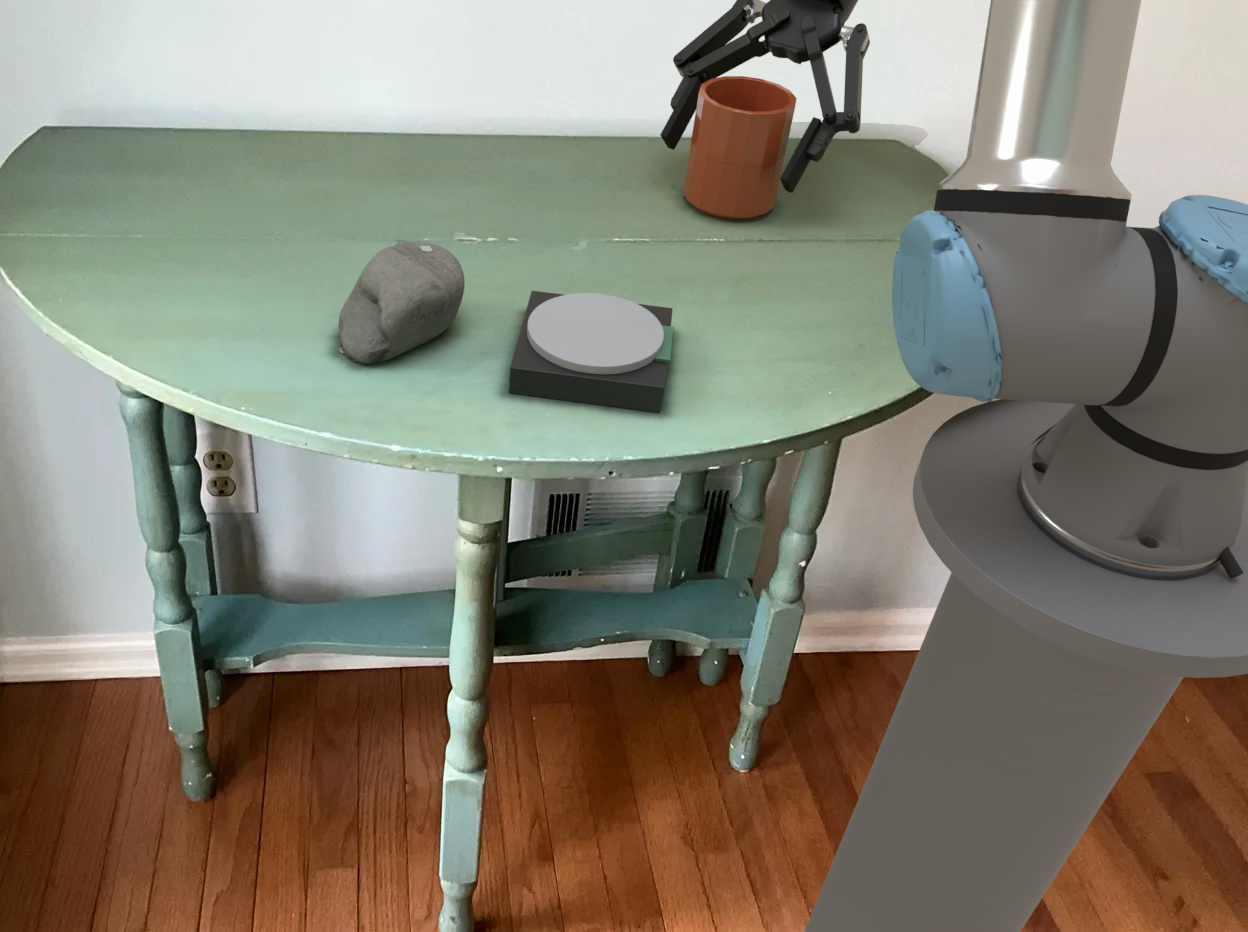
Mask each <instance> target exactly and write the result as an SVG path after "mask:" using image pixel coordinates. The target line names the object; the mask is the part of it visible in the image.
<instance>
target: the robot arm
mask: <svg viewBox="0 0 1248 932" xmlns="http://www.w3.org/2000/svg"><path fill="white" fill-rule="evenodd" d="M858 1H859V0H769V1H767V2H765V1H762V0H736V1H734V4H733V5H732V6H731V8H730V9H729V10H727V11H726V12H725V13H723V15H721V16H720V17H719V18H718V19H717V20H715V21H714V22H713V23H712V24H710V26H708V27H707V28H706V29H704V31H702V32H701V33H700V34H699V35H698V36H696V37H695V38H694V39H693V40H691V42H689V43H688V44H687V45H685V46H684V47H683V48H682V49H680V51H678V52H677V53H676V54H675V55H674V56H673V58H672V62H673V64H674V66H675V68H676V70H677V71H678V74H679V75H680V76H681V77H682V79H681V81H680V83H679V85H678V87H677V88H676V90H675V92H674V94H673V96H672V97H671V99H670V107H671V109H672V112H671V114H670V116H669V118H668V119H667V122H666V123H665V125H664V127H663V129H662V131H661V132H660V134H659V136H660V137H661V139H662V141H663V142H664V144H665V145H666V147H667V148H668V149H671V150H673V151H675V149H676V147H677V146H678V144H679V142H680V140H681V138H682V136H683V135H684V133H685V132H686V129H687V127H688V126H689V124H690V122H691V120H692V118H693V116H694V115H695V114H696V107H697V101H698V95H699V90H700V87H701V84H703V83H705V82H706V81H708V80H710V79H714V78H719V77H721V76H722V75H724V74H726V73H728V72H729V71H731V70H733V69H736V68H737V67H739V66H741V65H742V64H744V63H746V62H749V61H750V60H752V59H754V58H756V57H757V58H762V57H764V56H766V55H767V54H769V53H771V54H772V56H773V57H775V58H777V59H788V60H790V61H791V62H793V63H794V64H797V65H802V64H803V63H807V62H809V63H810V67H811V68H810V69H811V71H812V76H813V80H814V84H815V89H816V93H817V97H818V102H819V106H820V110H821V116H822V120H821V118H817V117H815V116H813V117H812V118H811V121H810V122H809V124H808V126H807V128H806V129H805V131H804V133H803V135H802V137H801V139H800V141H799V142H798V144H797V146H796V148H795V149H794V152H793V153H792V155H791V157H790V159H789V161H788V162H787V164H786V166H785V168H784V170H783V172H781V176H780V183H781V184H782V187H783V189H784V191H785V192H787V193H790V194H793V193H794V191H795V189H796V187H797V186H798V184H799V182H800V180H801V179H802V177H803V175H804V174H805V171H806V170H807V167H808V166H809V164H810V162H811V161H813V162H815V163H818V162H820V160H822V159H823V157H824V154H825V153H826V151H827V149H828V147H829V145H830V144H831V142H832V140H833V139H834V137H835V135H837V133H840V132H848V133H849V134H856V133H858V132H859V131H860V130H861V120H862V119H861V118H862V97H863V95H862V94H863V93H862V92H863V71H864V70H863V69H864V67H863V66H864V59H865V56H866V54H867V51H868V50H869V47H870V45H871V40H870V36H869V31H868V28H867V25H866V24H865V23H863V22H861V23H857V24H856V25H855V26H854V27H853V26H846V25H845V23H846V22H847V21H848V20H849V18H850V17H851V15H852V14H853V11H854V9H855V8H856V5H857V3H858ZM1141 3H1142V0H990V3H989V8H988V9H989V10H988V17H987V22H986V29H985V36H984V41H983V48H982V54H981V60H980V61H981V62H980V66H979V67H980V68H979V74H978V80H977V87H976V94H975V100H974V106H973V113H972V120H971V125H970V132H969V138H968V145H967V151H966V152H967V153H966V158H965V159H964V161H963V162H962V163H961V165H960V166H959V167H958V168H956V169H955V170H953V171H952V173H950V174H949V175H947V177H945V178H944V179H943V180H941V181H940V182H939V183H938V185H937V187H936V193H935V195H936V196H935V199H934V200H935V201H934V207H933V210H926V211H924V212H922V213H919V214H916V215H915V216H912V217H911V219H909V221H908V222H907V223H906V224H905V226H904V228H903V230H902V231H901V235H900V237H899V247H898V248H897V249H896V252H895V256H894V261H893V270H892V281H891V283H892V284H891V306H892V307H891V308H892V309H891V310H892V321H893V329H894V336H895V340H896V344H897V347H898V351H899V355H900V358H901V361H902V364H903V366H904V367H905V369H906V371H907V373H908V374H909V376H910V378H911V379H912V380H913V381H914V382H915V383H916V384H917V385H918V386H919V387H920V388H922V389H924V390H925V391H927V392H930V393H933V394H936V395H946V396H955V397H962V398H963V397H964V398H972V399H974V400H976V401H979V402H982V403H986V402H990V401H994V400H1000V399H1006V400H1021V401H1036V402H1052V403H1067V404H1075V405H1074V406H1073V407H1072V408H1071V409H1070V410H1069V411H1068V412H1067V413H1066V414H1065V415H1064V416H1063V417H1062V418H1061V419H1060V420H1059V421H1058V422H1057V423H1056V424H1055V425H1054V426H1052V427H1051V428H1050V429H1048V430H1047V431H1046V432H1044V433H1043V434H1042V435H1040V436H1039V437H1038V438H1037V439H1036V440H1035V441H1034V442H1033V443H1035V442H1036V441H1037V440H1039V439H1040V438H1041V437H1043V436H1044V435H1045V434H1046V435H1045V436H1044V437H1043V438H1042V439H1041V440H1040V441H1039V442H1038V443H1037V444H1036V445H1035V446H1034V448H1033V449H1032V451H1031V452H1030V454H1029V455H1028V457H1027V458H1026V460H1025V462H1024V465H1023V467H1022V469H1021V472H1020V474H1019V477H1018V482H1017V491H1018V496H1019V499H1020V502H1021V504H1022V506H1023V508H1024V510H1025V511H1026V513H1027V515H1028V516H1029V517H1030V519H1031V520H1032V521H1033V522H1034V523H1035V525H1036V526H1037V527H1038V528H1039V529H1040V530H1041V531H1042V532H1044V533H1045V534H1046V535H1047V536H1048V537H1049V538H1051V539H1052V540H1053V541H1054V542H1056V543H1057V544H1059V545H1060V546H1062V547H1063V548H1065V549H1066V550H1068V551H1070V552H1071V553H1073V554H1075V555H1077V556H1079V557H1080V558H1082V559H1084V560H1087V561H1089V562H1091V563H1093V564H1096V565H1098V566H1101V567H1103V568H1106V569H1109V570H1112V571H1115V572H1118V573H1122V574H1126V575H1130V576H1135V577H1140V578H1146V579H1155V580H1180V579H1188V578H1193V577H1197V576H1200V575H1203V574H1206V573H1208V572H1210V571H1212V570H1213V569H1215V568H1216V567H1217V566H1219V565H1220V564H1222V566H1223V568H1224V569H1225V571H1226V572H1227V574H1228V576H1229V577H1230V578H1231V579H1232V578H1235V577H1237V576H1239V575H1241V574H1243V573H1244V572H1243V571H1242V569H1241V567H1240V566H1239V564H1238V563H1237V561H1236V559H1235V558H1234V556H1233V554H1232V553H1231V551H1230V549H1231V548H1232V546H1233V544H1234V543H1235V541H1236V537H1237V535H1238V532H1239V529H1240V526H1241V520H1242V513H1243V506H1244V498H1245V491H1246V484H1247V476H1248V204H1247V203H1244V202H1242V201H1237V200H1234V199H1229V198H1226V197H1220V196H1214V195H1209V194H1189V195H1184V196H1182V197H1180V198H1177V199H1175V200H1173V201H1171V202H1170V203H1169V205H1168V206H1167V208H1166V209H1165V210H1163V211H1161V213H1160V214H1159V216H1158V224H1159V225H1158V226H1156V227H1140V226H1139V227H1137V226H1127V223H1128V218H1129V217H1128V216H1129V212H1130V207H1131V202H1132V197H1133V196H1132V193H1131V192H1130V191H1129V189H1128V188H1127V187H1126V186H1125V185H1124V183H1123V182H1122V181H1121V180H1120V178H1119V177H1118V175H1117V174H1116V173H1115V172H1114V170H1113V167H1112V159H1113V155H1114V154H1113V153H1114V148H1115V143H1116V139H1117V134H1118V133H1117V132H1118V127H1119V122H1120V116H1121V111H1122V105H1123V102H1124V101H1123V99H1124V95H1125V88H1126V84H1127V80H1128V79H1127V78H1128V74H1129V73H1128V72H1129V68H1130V63H1131V58H1132V52H1133V46H1134V41H1135V36H1136V30H1137V25H1138V19H1139V15H1140V14H1139V13H1140V9H1141ZM758 18H761V21H760V22H757V23H755V22H756V19H758ZM754 23H755V24H754ZM749 24H751V25H752V26H750V27H749V28H748V29H747V30H746V33H745V34H743V35H740V36H739V37H737V36H738V35H739V34H740V33H741V32H742V31H743V30H744V29H745V28H747V26H748V25H749ZM753 24H754V25H753ZM763 36H764V39H763V40H762V41H761V40H760V39H761V38H762V37H763ZM735 37H736V38H735ZM734 38H735V39H734ZM840 42H842V46H843V50H844V52H845V67H844V69H845V73H844V94H843V95H844V96H843V111H837V108H836V107H837V106H836V103H835V99H834V95H833V89H832V85H831V82H830V77H829V74H828V73H829V72H828V68H827V64H826V60H825V56H824V52H826V51H828V50H829V49H831V48H832V47H834V46H835V45H837V44H839V43H840ZM1033 443H1032V444H1033ZM1032 444H1031V445H1032ZM1031 445H1030V446H1031Z"/></svg>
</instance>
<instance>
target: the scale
mask: <svg viewBox="0 0 1248 932" xmlns="http://www.w3.org/2000/svg"><path fill="white" fill-rule="evenodd" d="M672 319H673V307H666V306H658V305H650V304H643V303H637V302H634V301H631V300H629V299H626V298H624V297H620V296H615V295H611V294H605V293H596V292H595V293H594V292H577V293H568V294H565V293H554V292H546V291H540V290H531V292H530V295H529V298H528V302H527V306H526V309H525V313H524V316H523V321H522V324H521V328H520V330H519V335H518V339H517V342H516V345H515V349H514V352H513V356H512V360H511V364H510V366H509V381H508V393H509V394H516V395H523V396H524V395H525V396H532V397H538V398H545V399H555V400H560V401H562V400H563V401H570V402H577V403H584V404H591V405H600V406H606V407H614V408H622V409H629V410H636V411H645V412H651V413H652V412H653V413H661V412H662V407H663V401H664V397H665V390H666V381H667V379H666V378H667V369H668V364H670V363H671V359H672V358H671V357H672V348H673V347H672V346H673V339H674V326H672Z"/></svg>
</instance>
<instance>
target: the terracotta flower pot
mask: <svg viewBox="0 0 1248 932" xmlns="http://www.w3.org/2000/svg"><path fill="white" fill-rule="evenodd" d="M796 104H797V97H796V96H795V95H794V93H793V92H792V91H791V90H790V89H788V88H786V87H785V86H782V84H779V83H776V82H773V81H769V80H766V79H763V78H756V77H751V76H742V75H738V76H736V75H734V76H732V75H730V76H729V75H725V76H719V77H717V78H714V79H710V80H708V81H706V82H705V83H703V84H701V87H700V90H699V95H698V101H697V107H696V111H695V113H694V121H693V126H692V127H693V128H692V133H691V134H692V135H691V139H690V145H689V153H688V159H687V165H686V172H685V177H684V178H685V179H684V185H683V191H682V192H683V195H684V197H685V198H686V200H687V202H688V203H690V204H692V205H693V206H694V207H695V208H697V209H698V210H700V211H701V212H703V213H705V214H708V215H710V216H713V217H716V218H721V219H727V220H745V219H751V218H755V217H758V216H760V215H765V214H767V213H768V212H769V211H771V210H772V209H773V208H774V207H775V205H776V200H777V199H776V198H777V194H778V189H779V185H780V182H781V180H780V177H781V175H782V170H783V166H784V162H785V156H786V152H787V149H788V148H787V147H788V144H789V137H790V133H791V129H792V128H791V127H792V124H793V119H794V115H795V110H796V106H797V105H796Z"/></svg>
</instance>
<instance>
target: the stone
mask: <svg viewBox="0 0 1248 932" xmlns="http://www.w3.org/2000/svg"><path fill="white" fill-rule="evenodd" d="M358 276H359V277H358V278H357V280H356V282H355V284H354V286H353V288H352V290H351V291H350V293H349V295H348V296H347V299H346V301H345V302H344V303H343V305H342V307H341V310H340V312H339V316H338V323H337V324H338V330H339V339H340V342H341V345H342V346H341V347H339V352H340V353H341V354H345V355H346V357H347V358H349V359H351V360H353V361H354V362H355V363H360V364H363V365H364V364H365V365H366V364H367V365H368V364H369V365H370V364H376V363H378V362H386V361H388V360H391V359H394V358H396V357H398V356H400V355H402V354H404V353H406V352H408V351H410V350H412V349H415V348H416V347H419V346H421V345H423V344H425V343H428V342H429V341H431V340H433V339H434V338H436V337H438V336H439V335H441V334H442V333H444V332H445V331H446V330H447V329H448V328H449V327H450V326H451V325H452V323H453V322H454V320H455V319H456V317H457V315H458V312H459V310H460V307H461V304H462V301H463V297H464V293H465V281H466V280H465V274H464V270H463V267H462V265H461V263H460V261H459V259H458V258H457V257H456V255H454V254H453V253H452V252H451V251H450V250H448V249H447V248H445V247H443V246H441V245H439V244H435V243H431V242H422V241H404V242H398V243H396V244H394V245H391V246H387V247H385V248H383V249H381V250H379V251H378V252H376V254H375V255H374V256H372V258H371V259H370V260H369V261H368V262H367V264H366V265H365V266H364V268H363V270H362V271H361V273H360V274H359V275H358Z"/></svg>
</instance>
